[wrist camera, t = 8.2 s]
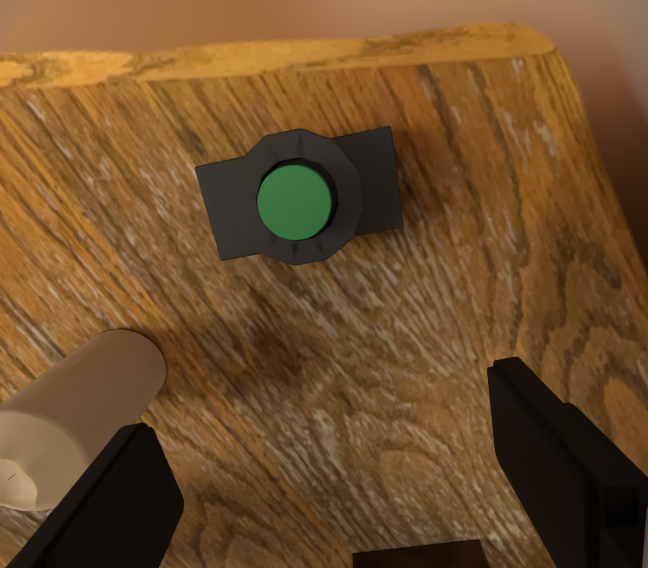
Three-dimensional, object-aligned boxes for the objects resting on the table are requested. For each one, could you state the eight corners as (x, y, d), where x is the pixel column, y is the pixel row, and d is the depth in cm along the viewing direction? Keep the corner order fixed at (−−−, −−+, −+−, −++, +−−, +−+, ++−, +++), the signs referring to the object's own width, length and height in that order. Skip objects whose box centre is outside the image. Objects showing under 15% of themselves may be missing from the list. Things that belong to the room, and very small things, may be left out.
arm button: (324, 158, 17) (323, 158, 15) (337, 226, 18) (337, 232, 16) (257, 172, 17) (249, 173, 16) (273, 238, 18) (267, 246, 17)
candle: (91, 397, 26) (-52, 534, 16) (80, 325, 24) (-88, 431, 14) (170, 402, 26) (74, 543, 16) (164, 330, 24) (53, 440, 14)
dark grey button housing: (383, 118, 20) (395, 107, 16) (398, 230, 22) (412, 244, 18) (204, 156, 21) (175, 154, 17) (233, 261, 22) (213, 280, 19)
